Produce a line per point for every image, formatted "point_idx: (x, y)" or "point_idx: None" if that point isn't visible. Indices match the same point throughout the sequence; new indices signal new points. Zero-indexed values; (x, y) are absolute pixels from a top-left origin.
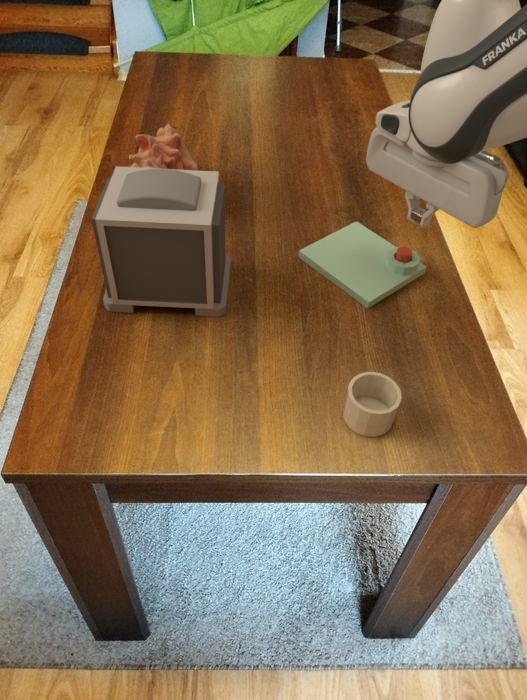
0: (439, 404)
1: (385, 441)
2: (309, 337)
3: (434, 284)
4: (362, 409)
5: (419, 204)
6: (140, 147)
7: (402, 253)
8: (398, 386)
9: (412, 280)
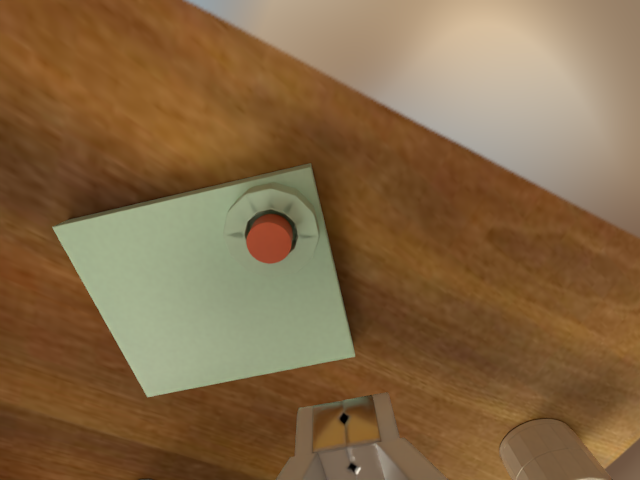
0: (597, 357)
1: None
2: None
3: (357, 167)
4: None
5: (310, 466)
6: None
7: (276, 256)
8: (596, 478)
9: (322, 213)
